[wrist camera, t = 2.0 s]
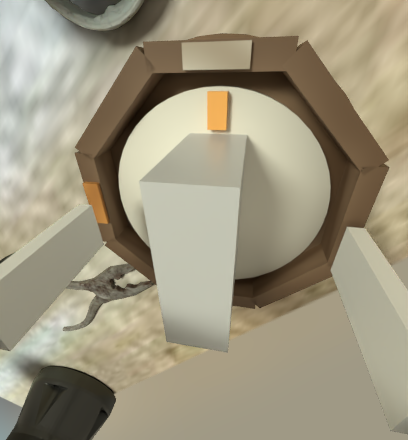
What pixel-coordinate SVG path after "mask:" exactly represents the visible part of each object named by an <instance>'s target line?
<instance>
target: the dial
mask: <svg viewBox="0 0 408 440" xmlns="http://www.w3.org/2000/svg"><path fill="white" fill-rule="evenodd" d="M330 189H331V185H330V174H329V169H328V165H327V162H326V158H325V156H324V153H323V151H322V149H321V146H320V144H319V143H318V141H317V139H316V138H315V136H314V135H313V133H312V132H311V130H310V129H309V128H308V127H307V126H306V125H305V124H304V122H303V121H302V120H301V119H300V118H299V117H298V116H297V115H296V114H295V113H294V112H292V111H291V110H290V109H289V108H287V107H286V106H285V105H284V104H282V103H280V102H279V101H277V100H275V99H273V98H272V97H270V96H268V95H265V94H263V93H260V92H257V91H255V90H251V89H247V88H242V87H238V86H225V85H218V86H206V87H201V88H197V89H193V90H189V91H185V92H183V93H180V94H178V95H175V96H173V97H170V98H169V99H167V100H165V101H164V102H162V103H160V104H159V105H157V106H156V107H154V108H153V109H152V110H151V111H150V112H148V113H147V114H146V115H145V116H144V117H143V118H142V120H141V121H140V122H139V123H138V124H137V125H136V127H135V128H134V130H133V131H132V133H131V134H130V136H129V138H128V140H127V142H126V145H125V147H124V149H123V153H122V156H121V160H120V167H119V190H120V196H121V200H122V204H123V207H124V210H125V212H126V215H127V217H128V219H129V221H130V223H131V225H132V226H133V228H134V230H135V231H136V232H137V234H138V235H139V236H140V238H141V239H142V240H143V241H144V242H145V243H146V244H147V246H148V247H150V248H151V254H152V260H153V266H154V272H155V277H156V283H157V289H158V295H159V301H160V306H161V312H162V318H163V324H164V330H165V335H166V341H167V342H171V343H176V344H182V345H188V346H193V347H199V348H205V349H210V350H216V351H223V352H228V344H229V334H230V324H231V313H232V303H233V293H234V282H235V279H245V278H251V277H256V276H260V275H263V274H266V273H269V272H272V271H274V270H276V269H278V268H280V267H282V266H284V265H286V264H287V263H289V262H291V261H292V260H293V259H294V258H296V257H297V256H298V255H300V254H301V253H302V252H303V251H304V250H305V249H306V248H307V247H308V246H309V244H310V243H311V242H312V241H313V239H314V238H315V237H316V235H317V233H318V232H319V230H320V228H321V226H322V224H323V222H324V219H325V217H326V214H327V210H328V206H329V202H330Z"/></svg>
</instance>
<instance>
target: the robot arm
mask: <svg viewBox="0 0 408 440" xmlns="http://www.w3.org/2000/svg"><path fill="white" fill-rule="evenodd" d="M103 245H104V243H103V240H102V237H101V234H100V230H99V227H98V224H97V220H96V217H95V214H94V211H93V207H92V205H86V204H79V205H77V206H76V207H75V208H73V209H72V210H71V211H69V212H68V213H67V214H65V215H64V216H63V217H61V218H60V219H59V220H57V221H56V222H55V223H54V224H52V225H51V226H50V227H48V228H47V229H46V230H44V231H43V232H42V233H40V234H39V235H38V236H36V237H35V238H34V239H32V240H31V241H30V242H28V243H27V244H26V245H24V246H23V247H22V248H21V249H19V250H18V251H17V252H15V253H13V254H11V255H9V256H7V257H5V258H3V259H2V260H1V261H0V349H3V350H8V351H11V350H12V349H13V348H14V346H15V345H16V344H17V343H18V342H19V341H20V340H21V338H22V337H23V336H24V335H25V334H26V333H27V332H28V330H29V329H30V328H31V327H32V326H33V325H34V324H35V322H36V321H37V320H38V319H39V318H40V317H41V316H42V314H43V313H44V312H45V311H46V310H47V309H48V308H49V306H50V305H51V304H52V303H53V302H54V301H55V300H56V298H57V297H58V296H59V295H60V294H61V293H62V292H63V290H64V289H65V288H66V287H67V286H68V285H69V284H70V282H71V281H72V280H73V279H74V278H75V277H76V276H77V274H78V273H79V272H80V271H81V270H82V269H83V267H84V266H85V265H86V264H87V263H88V262H89V261H90V259H91V258H92V257H93V256H94V255H95V254H96V253H97V251H98V250H99V249H100V248H101V247H102V246H103ZM331 273H332V275H333V278H334V281H335V283H336V286H337V289H338V291H339V294H340V297H341V299H342V302H343V305H344V308H345V310H346V313H347V316H348V318H349V321H350V324H351V326H352V329H353V331H354V334H355V337H356V340H357V342H358V345H359V347H360V350H361V353H362V356H363V358H364V361H365V364H366V366H367V369H368V372H369V374H370V377H371V380H372V382H373V385H374V388H375V390H376V393H377V396H378V399H379V401H380V404H381V407H382V409H383V412H384V415H385V417H386V420H387V422H388V425H389V428H390V431H394V432H399V433H404V434H408V290H407V288H406V287H405V285H404V284H403V283H402V281H401V280H400V278H399V277H398V275H397V274H396V272H395V271H394V270H393V268H392V267H391V265H390V264H389V262H388V261H387V259H386V258H385V256H384V255H383V254H382V252H381V251H380V249H379V248H378V246H377V245H376V243H375V242H374V241H373V239H372V238H371V236H370V235H369V233H368V232H367V230H366V229H365V228H355V227H347V228H346V231H345V233H344V236H343V239H342V241H341V244H340V247H339V249H338V252H337V254H336V257H335V260H334V262H333V265H332V268H331ZM115 402H116V398H115V396H114V394H113V393H112V392H111V391H110V390H109V389H108V388H107V387H106V386H105V385H103V384H102V383H100V382H99V381H97V380H95V379H94V378H92V377H90V376H88V375H85V374H83V373H80V372H78V371H75V370H71V369H68V368H63V367H45V368H43V369H42V370H41V371H40V373H39V374H38V376H37V377H36V378H35V380H34V381H33V383H32V385H31V388H30V390H29V393H28V395H27V398H26V400H25V403H24V405H23V408H22V410H21V413H20V416H19V418H18V421H17V423H16V425H15V427H14V429H13V430H12V432H11V433H10V435H9V436H8V438H7V439H6V440H92V439H93V437H94V436H95V435H96V433H97V432H98V431H99V429H100V428H101V427H102V425H103V424H104V422H105V421H106V420H107V418H108V417H109V415H110V413H111V411H112V409H113V406H114V404H115Z"/></svg>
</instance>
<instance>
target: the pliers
mask: <svg viewBox="0 0 408 440" xmlns="http://www.w3.org/2000/svg"><path fill="white" fill-rule="evenodd" d="M133 269H134V267H132V266H131V265H130V264H123V265H117V266H110V267H109V268H107V269H106V270H105V271H103V272H102V273H100V274H99V275H98V276H96V277H95V278H92V279H89V280H86V281H71V282H70V284H69V285H68V286H67V287H66V288H68V289H75V290H89V291H90V292H94V293H95V294H96V296H95V297H94V299H93V300H92V302H91V304H90V306H89V310H88V313H87V316H86V318H85V320H84V321H83V322H81V323H80V324H77V325H74V326H69V327H64V328H63V331H72V330H77V329H80V328H83V327H85V326H87V325H88V324H89V323H90V322H91V321H92V319H93V318H94V316H95V314H96V312H97V310H98V308H99V307H100V305H101V304H103V303H107V302H109V301H111V300H117V299H122V298H126V297H130V296H134V295H136V294H138V293H140V292H142V291H143V290H145V289H147V288H149V287H150V286H152V284H153V282H152V281H146V282H140V283H139V284H138V285H133V284H127V286H126V287H125V288H126V289H125V288H121V287H120V286H118V285H117V286H115V285H114V284H113V282H114V281H113V279H112V278H114V279H117V280H119V279H120V278H121V276H122V274H127V273H129V272H130V271H131V270H133Z"/></svg>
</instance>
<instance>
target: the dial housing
mask: <svg viewBox="0 0 408 440" xmlns="http://www.w3.org/2000/svg"><path fill="white" fill-rule="evenodd" d="M298 37H299V36H286V37H256V36H251V35H246V34H223V33H222V34H214V35H206V36H199V37H195V38H192V39H188V40H179V41H152V42H143V45H144V48H142V47H137V46H136V47H135V49H134V51H133V52H132V54H131V55H130V57H129V59H128V60H127V62H126V64H125V65H124V67H123V69H122V70H121V72H120V74H119V75H118V77H117V79H116V80H115V82H114V84H113V85H112V87H111V89H110V90H109V92H108V94H107V95H106V97H105V98H104V100H103V102H102V103H101V105H100V107H99V108H98V110H97V112H96V113H95V115H94V117H93V118H92V120H91V122H90V123H89V125H88V127H87V128H86V130H85V132H84V133H83V135H82V137H81V138H80V140H79V141H78V143H77V145H76V146H75V148H76V149H78V150H79V151H78V152H76V153H75V156H76V159H77V162H78V166H79V169H80V172H81V175H82V179H83V182H84V183H83V186H84V189H85V193H86V196H87V199H88V202H89V205H92V207H93V211H94V214H95V217H96V220H97V224H98V227H99V230H100V234H101V237H102V240H103V241H104V242H107V243H106V244H105V246H106V247H108V248H109V249H110V250H112V251H113V252H114V253H116V254H117V255H118V256H119V257H121V258H122V259H123V260H125V261H126V262H127V263H128V264H130V265H131V266H132V267H134V268H135V269H136V270H138V271H139V272H140V273H141V274H143V275H144V276H145V277H147V278H148V279H149V280H151V281H152V282H153V283H154V284H156V285H157V283H156V277H155V272H154V266H153V260H152V254H151V248H150V247H148V246H147V244H146V243H145V242H144V241H143V240H142V239H141V238H140V236H139V235H138V234H137V232H136V231H135V230H134V228H133V226H132V225H131V223H130V221H129V219H128V217H127V215H126V212H125V210H124V207H123V204H122V200H121V196H120V190H119V167H120V160H121V156H122V153H123V149H124V147H125V145H126V142H127V140H128V138H129V136H130V134H131V133H132V131H133V130H134V128H135V127H136V125H137V124H138V123H139V122H140V121H141V120H142V118H143V117H144V116H145V115H146V114H147V113H148V112H150V111H151V110H152V109H153V108H154V107H156V106H157V105H159V104H160V103H162V102H164V101H165V100H167V99H169V98H170V97H173V96H175V95H178V94H180V93H183V92H185V91H189V90H193V89H197V88H201V87H206V86H218V85H225V86H238V87H242V88H247V89H251V90H255V91H257V92H260V93H263V94H265V95H268V96H270V97H272V98H273V99H275V100H277V101H279V102H280V103H282V104H284V105H285V106H286V107H287V108H289V109H290V110H291V111H292V112H294V113H295V114H296V115H297V116H298V117H299V118H300V119H301V120H302V121H303V122H304V124H305V125H306V126H307V127H308V128H309V129H310V130H311V132H312V133H313V135H314V136H315V138H316V139H317V141H318V143H319V144H320V146H321V149H322V151H323V153H324V156H325V158H326V162H327V165H328V169H329V174H330V185H331V189H330V202H329V206H328V210H327V214H326V217H325V219H324V222H323V224H322V226H321V228H320V230H319V232H318V233H317V235H316V237H315V238H314V239H313V241H312V242H311V243H310V244H309V246H308V247H307V248H306V249H305V250H304V251H303V252H302V253H301V254H300V255H298V256H297V257H296V258H294V259H293V260H292V261H291V262H289V263H287V264H286V265H284V266H282V267H280V268H278V269H276V270H274V271H272V272H269V273H266V274H263V275H260V276H256V277H251V278H245V279H235V282H234V293H233V303H232V306H239V307H246V308H253V309H255V305H257V306H258V307H259V308H261V307H263V306H266V305H268V304H270V303H273V302H275V301H277V300H279V299H282V298H284V297H286V296H289V295H291V294H293V293H295V292H298V291H300V290H302V289H305V288H307V287H309V286H311V285H314V284H316V283H318V282H320V281H323V280H325V279H327V278H330V277H332V276H333V275H332V273H331V268H332V265H333V262H334V260H335V257H336V254H337V252H338V249H339V247H340V244H341V241H342V239H343V236H344V233H345V231H346V228H347V227H355V228H364V226H365V223H366V221H367V219H368V216H369V214H370V212H371V209H372V207H373V205H374V202H375V200H376V197H377V195H378V193H379V190H380V188H381V186H382V183H383V181H384V179H385V176H386V174H387V172H388V169H389V167H388V166H386V165H385V164H384V163H385V162H387V161H388V158H387V157H386V155H385V154H384V152H383V151H382V149H381V148H380V146H379V145H378V143H377V142H376V141H375V139H374V138H373V136H372V135H371V133H370V132H369V130H368V129H367V127H366V126H365V124H364V123H363V121H362V120H361V119H360V117H359V116H358V114H357V113H356V111H355V110H354V108H353V106H352V104H351V103H350V101H349V99H348V97H347V96H346V94H345V93H344V91H343V90H342V89H341V88H340V87H339V85H338V84H337V83H336V82H335V80H334V79H333V77H332V76H331V74H330V73H329V72H328V70H327V69H326V67H325V66H324V64H323V63H322V61H321V60H320V58H319V57H318V55H317V54H316V52H315V51H314V50H313V48H312V47H311V45H310V44H309V42H308V41H305V42H304V43H302V44H300V45H299V46H298V47H297V43H298Z"/></svg>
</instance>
